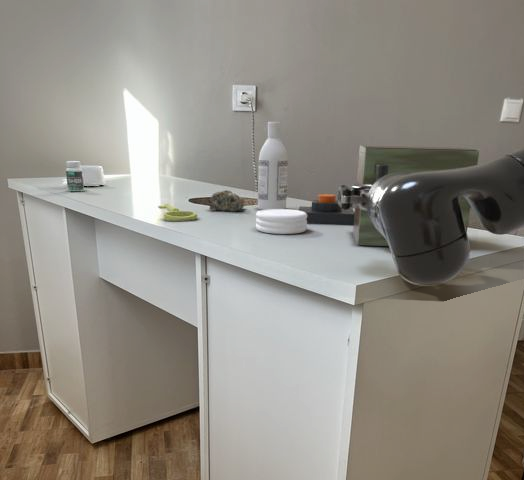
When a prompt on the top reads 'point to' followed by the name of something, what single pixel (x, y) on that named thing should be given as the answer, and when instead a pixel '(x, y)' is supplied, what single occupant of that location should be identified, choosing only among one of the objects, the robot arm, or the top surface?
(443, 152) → the door
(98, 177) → the white rounded block
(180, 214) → the key
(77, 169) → the pill bottle
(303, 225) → the white flat cylinder
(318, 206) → the switch block
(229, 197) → the rock
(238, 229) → the top surface
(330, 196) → the button
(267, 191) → the bath foam
